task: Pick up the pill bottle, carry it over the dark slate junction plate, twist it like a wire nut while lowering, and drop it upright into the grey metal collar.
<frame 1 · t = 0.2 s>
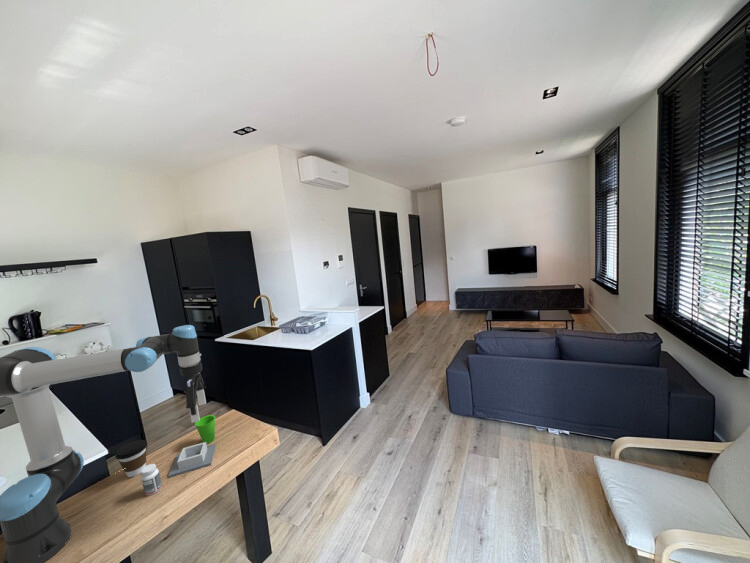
hand: (199, 412, 123), 27 cm above the table, fingers open, 13 cm apart
cup: (209, 441, 149), on the table
coffee cup: (136, 472, 132), on the table
socket: (194, 460, 135), on the table
pill bottle: (153, 490, 120), on the table
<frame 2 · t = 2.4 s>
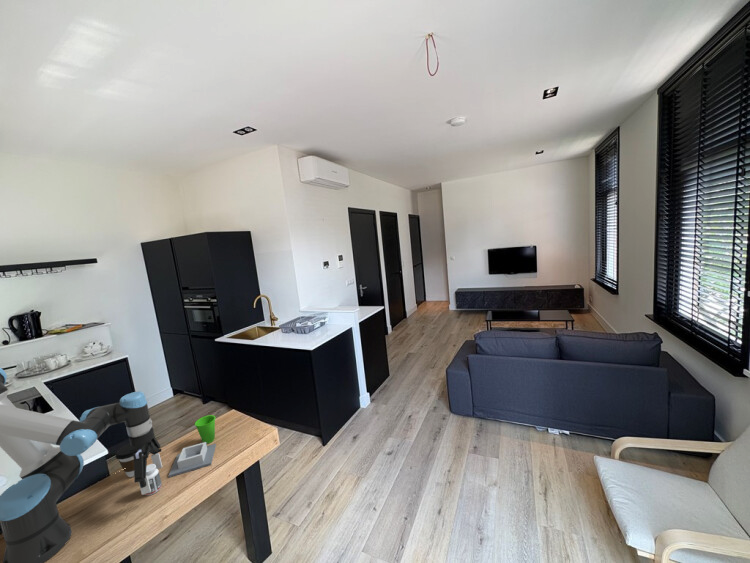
hand: (152, 480, 120), 4 cm above the table, fingers open, 13 cm apart
nothing on the table moved.
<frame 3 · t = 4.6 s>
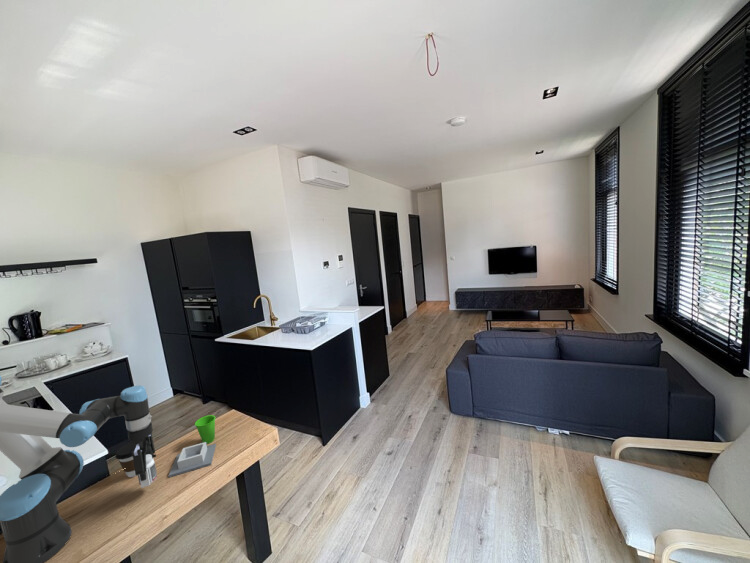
hand: (148, 479, 119), 5 cm above the table, fingers closed on pill bottle, 6 cm apart
pill bottle: (148, 481, 119), point 4 cm above the table, touching gripper
everything else where it was.
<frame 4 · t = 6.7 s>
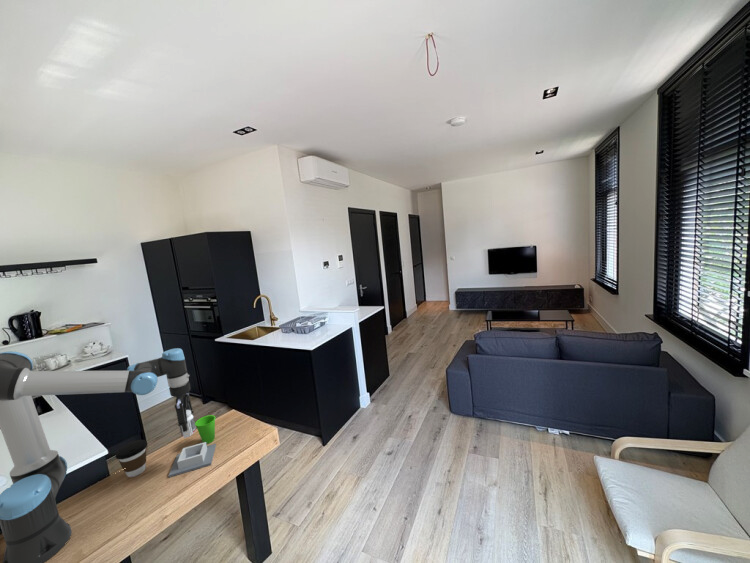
hand: (189, 432, 134), 14 cm above the table, fingers closed on pill bottle, 6 cm apart
pill bottle: (189, 433, 134), point 13 cm above the table, touching gripper
everything else where it was.
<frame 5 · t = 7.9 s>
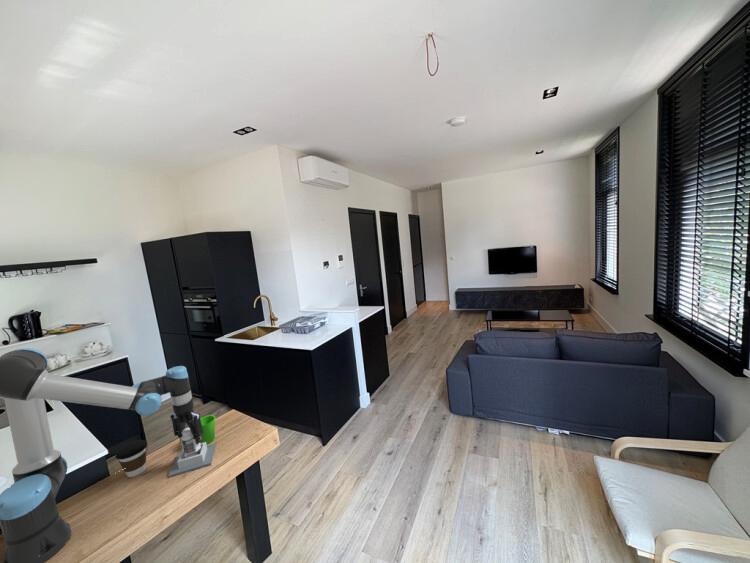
hand: (191, 449, 135), 6 cm above the table, fingers closed on pill bottle, 6 cm apart
pill bottle: (191, 450, 135), point 5 cm above the table, touching gripper
everything else where it was.
when the fingers open (5 cm above the table, at t = 8.8 s): pill bottle drops 4 cm, resting on socket.
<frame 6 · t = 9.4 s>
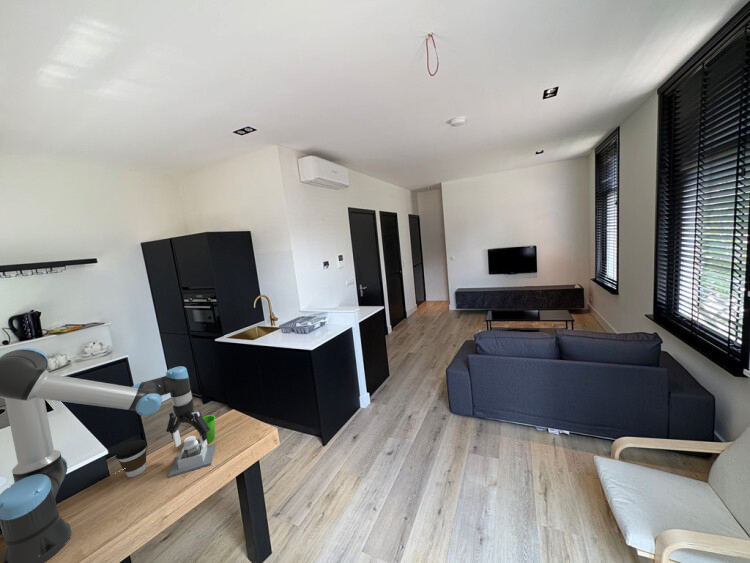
hand: (191, 446, 134), 7 cm above the table, fingers open, 13 cm apart
pill bottle: (194, 459, 135), point 1 cm above the table, touching socket
everything else where it was.
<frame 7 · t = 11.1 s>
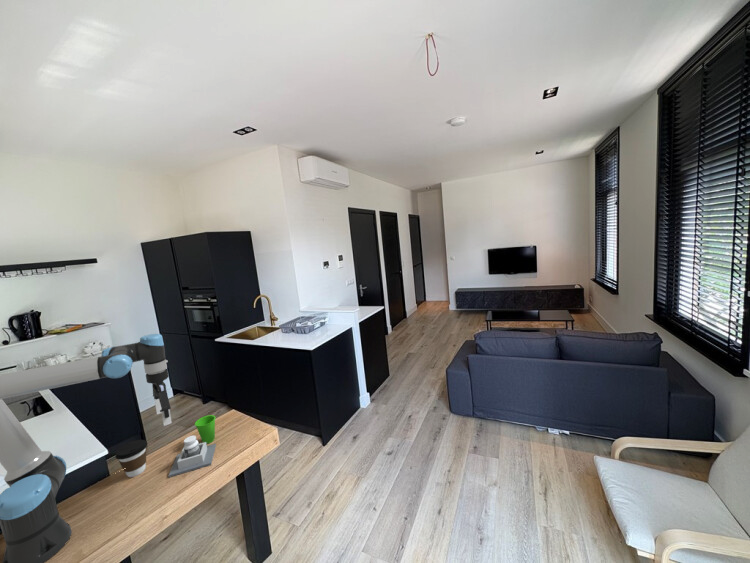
hand: (164, 418, 128), 24 cm above the table, fingers open, 13 cm apart
nothing on the table moved.
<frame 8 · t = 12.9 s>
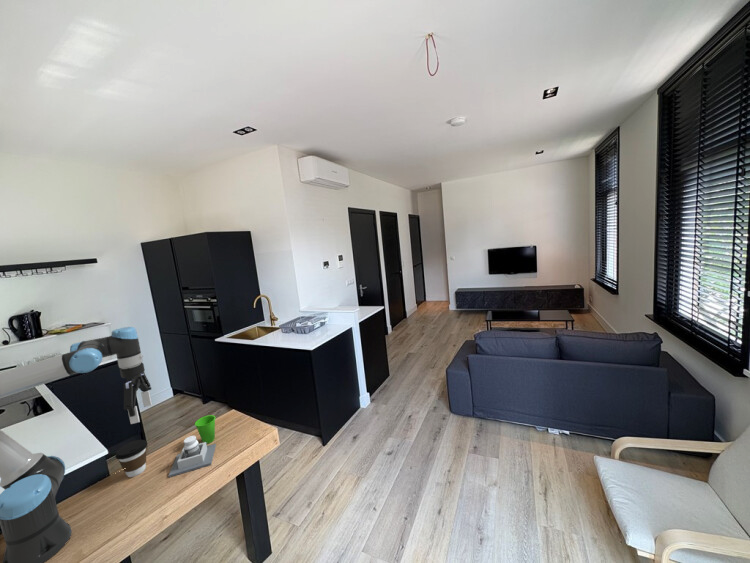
hand: (141, 413, 124), 29 cm above the table, fingers open, 13 cm apart
nothing on the table moved.
at the end: pill bottle 0.4 cm off-centre on the socket, point 0.8 cm above the socket's base; pill bottle tilted 0°; the gripper is holding nothing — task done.
